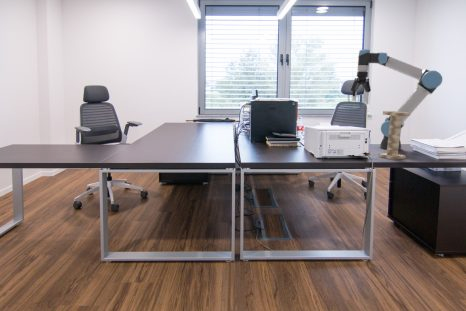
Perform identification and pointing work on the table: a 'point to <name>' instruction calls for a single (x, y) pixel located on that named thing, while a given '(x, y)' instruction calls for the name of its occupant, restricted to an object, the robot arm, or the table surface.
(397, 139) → the pedestal stand
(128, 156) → the table surface
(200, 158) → the table surface
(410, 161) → the table surface
